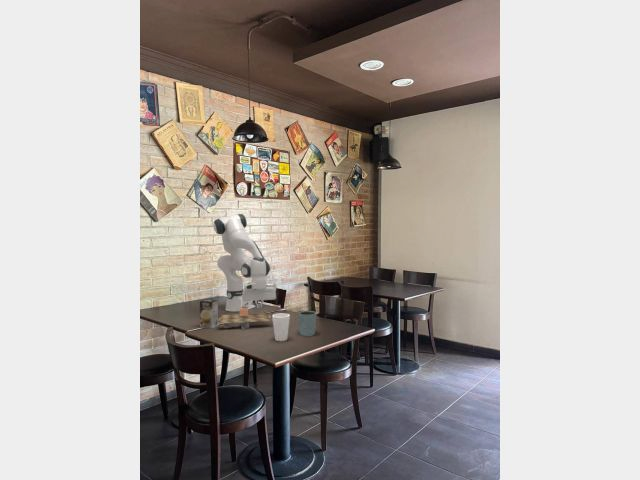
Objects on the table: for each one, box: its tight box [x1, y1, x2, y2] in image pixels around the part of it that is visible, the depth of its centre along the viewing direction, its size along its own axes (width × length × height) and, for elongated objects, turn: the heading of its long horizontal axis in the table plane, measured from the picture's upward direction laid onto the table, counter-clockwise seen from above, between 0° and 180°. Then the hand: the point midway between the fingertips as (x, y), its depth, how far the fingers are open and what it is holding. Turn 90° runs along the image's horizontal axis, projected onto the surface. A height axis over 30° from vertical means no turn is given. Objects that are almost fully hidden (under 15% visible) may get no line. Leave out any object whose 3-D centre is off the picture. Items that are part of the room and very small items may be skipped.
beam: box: [218, 312, 272, 330], centre depth 235 cm, size 30×8×8 cm, turn 102°
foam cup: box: [271, 312, 291, 342], centre depth 212 cm, size 10×9×13 cm
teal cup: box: [298, 310, 317, 337], centre depth 222 cm, size 10×10×12 cm
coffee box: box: [199, 298, 219, 329], centre depth 238 cm, size 9×6×16 cm
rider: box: [239, 306, 249, 316], centre depth 235 cm, size 5×6×6 cm
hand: (259, 307), depth 237 cm, fingers closed
